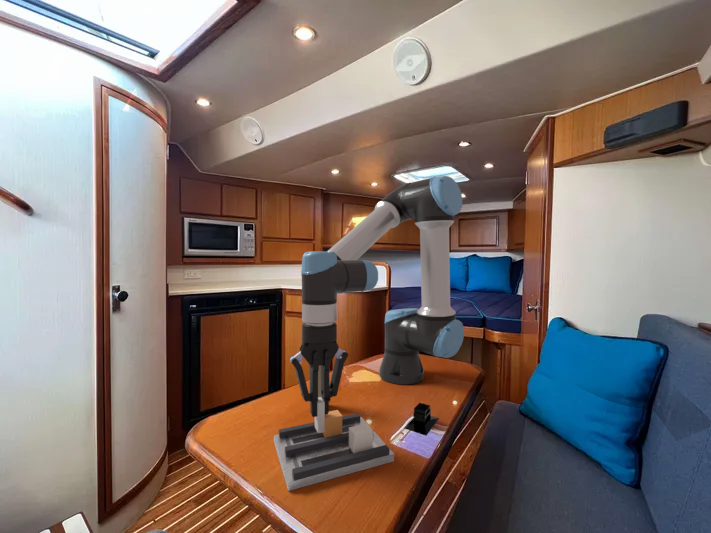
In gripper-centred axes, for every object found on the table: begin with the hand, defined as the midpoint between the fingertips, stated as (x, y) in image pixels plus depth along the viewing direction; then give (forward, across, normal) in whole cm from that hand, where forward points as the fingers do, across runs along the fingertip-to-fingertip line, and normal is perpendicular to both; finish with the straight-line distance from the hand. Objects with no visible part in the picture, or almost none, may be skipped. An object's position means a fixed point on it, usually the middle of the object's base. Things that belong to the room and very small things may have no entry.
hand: (319, 429), depth 70 cm
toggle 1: (+1, -3, 0) cm, 3 cm away
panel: (+3, -1, +4) cm, 5 cm away
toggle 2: (+1, -6, +8) cm, 10 cm away
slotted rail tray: (+1, -1, +4) cm, 5 cm away
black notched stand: (+4, -26, +2) cm, 26 cm away
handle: (+3, -5, -16) cm, 17 cm away
